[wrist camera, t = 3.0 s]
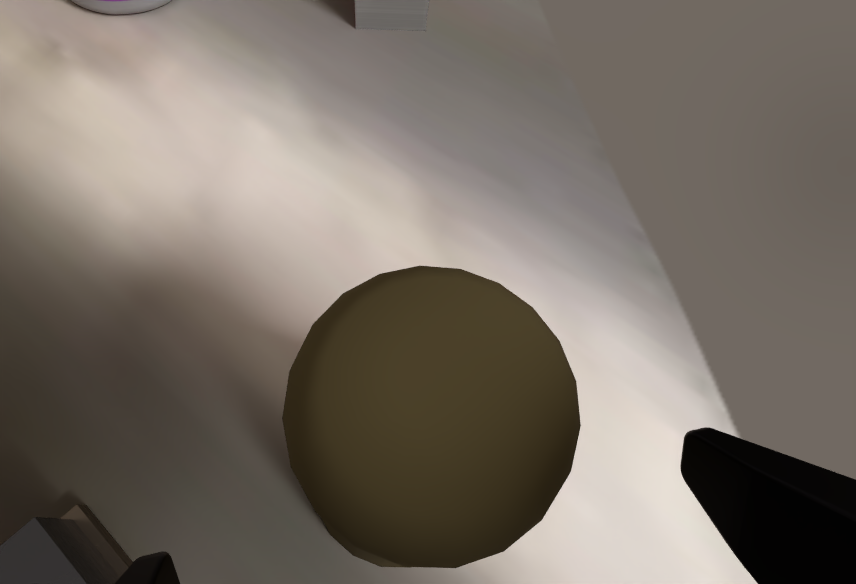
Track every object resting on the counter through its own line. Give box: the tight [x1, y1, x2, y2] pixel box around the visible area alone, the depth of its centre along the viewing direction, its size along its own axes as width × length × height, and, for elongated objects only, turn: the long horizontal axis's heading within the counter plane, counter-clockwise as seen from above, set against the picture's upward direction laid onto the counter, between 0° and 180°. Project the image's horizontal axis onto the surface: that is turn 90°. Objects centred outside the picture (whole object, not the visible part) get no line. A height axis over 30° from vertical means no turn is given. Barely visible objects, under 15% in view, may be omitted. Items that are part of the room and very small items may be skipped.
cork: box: [282, 266, 581, 568], centre depth 13 cm, size 6×6×11 cm
